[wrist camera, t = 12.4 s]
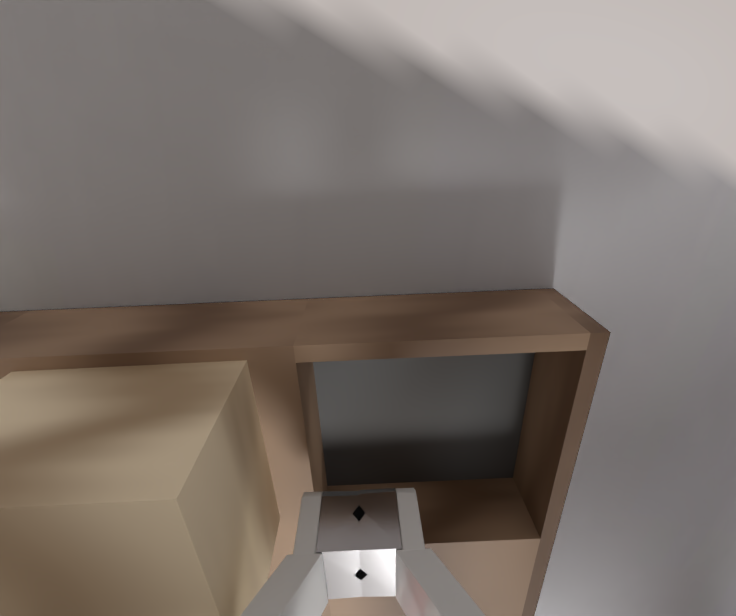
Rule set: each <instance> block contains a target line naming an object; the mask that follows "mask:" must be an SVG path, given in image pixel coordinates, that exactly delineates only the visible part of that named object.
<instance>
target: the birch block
mask: <svg viewBox="0 0 736 616" xmlns="http://www.w3.org/2000/svg"><path fill="white" fill-rule="evenodd" d="M279 522H280V514H279V509H278V505H277V500H276V495H275V491H274V486H273V481H272V476H271V472H270V467H269V462H268V458H267V453H266V448H265V444H264V439H263V434H262V429H261V425H260V420H259V415H258V411H257V406H256V401H255V396H254V392H253V387H252V382H251V378H250V373H249V368H248V363H247V360H241V361H221V362H200V363H180V364H159V365H139V366H118V367H98V368H77V369H57V370H36V371H16V372H10V373H9V374H7V375H6V376H4V377H3V378H1V379H0V616H240V615H241V614H242V613H243V611H244V610H245V609H246V608H247V606H248V605H249V604H250V602H251V601H252V600H253V598H254V597H255V596H256V595H257V593H258V592H259V591H260V589H261V588H262V587H263V585H264V584H265V583H266V581H267V579H268V575H269V570H270V565H271V560H272V555H273V551H274V546H275V541H276V536H277V531H278V527H279Z"/></svg>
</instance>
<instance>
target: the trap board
mask: <svg viewBox="0 0 736 616" xmlns="http://www.w3.org/2000/svg"><path fill="white" fill-rule="evenodd" d="M609 336H610V332H609V331H608V330H607V329H606V328H604V327H603V326H602V325H600V324H599V323H598V322H596V321H595V320H594V319H593V318H591V317H590V316H589V315H587V314H586V313H585V312H583V311H582V310H581V309H580V308H578V307H577V306H576V305H574V304H573V303H572V302H570V301H569V300H568V299H567V298H565V297H564V296H563V295H561V294H560V293H559V292H558V291H556V290H555V289H554V288H553V289H529V290H505V291H482V292H458V293H435V294H411V295H387V296H364V297H340V298H317V299H293V300H269V301H246V302H222V303H198V304H175V305H151V306H128V307H104V308H80V309H57V310H33V311H10V312H0V379H1V378H3V377H4V376H6V375H7V374H9V373H10V372H16V371H36V370H57V369H77V368H98V367H118V366H139V365H159V364H180V363H200V362H221V361H241V360H247V363H248V368H249V373H250V378H251V382H252V387H253V392H254V396H255V401H256V406H257V411H258V415H259V420H260V425H261V429H262V434H263V439H264V444H265V448H266V453H267V458H268V462H269V467H270V472H271V476H272V481H273V486H274V491H275V495H276V500H277V505H278V509H279V514H280V522H279V527H278V531H277V536H276V541H275V546H274V551H273V555H272V560H271V565H270V570H269V575H268V579H269V578H270V576H271V575H272V574H273V572H274V571H275V570H276V568H277V567H278V566H279V565H280V563H281V562H282V561H283V559H284V558H285V557H286V555H291V554H293V550H294V543H295V537H296V531H297V524H298V518H299V512H300V505H301V499H302V496H303V493H304V492H321V491H359V490H369V489H386V488H395V489H396V488H414V489H415V491H416V496H417V502H418V508H419V514H420V520H421V526H422V532H423V538H424V544H425V549H432V550H433V552H434V553H435V554H436V555H437V557H438V558H439V559H440V560H441V561H442V563H443V564H444V565H445V566H446V568H447V569H448V570H449V571H450V573H451V574H452V575H453V576H454V578H455V579H456V580H457V581H458V582H459V584H460V585H461V586H462V587H463V589H464V590H465V591H466V592H467V594H468V595H469V596H470V597H471V598H472V600H473V601H474V602H475V603H476V605H477V606H478V607H479V608H480V610H481V611H482V612H483V613H484V615H485V616H534V614H535V611H536V607H537V603H538V599H539V596H540V592H541V588H542V585H543V581H544V577H545V573H546V570H547V566H548V562H549V559H550V555H551V551H552V547H553V544H554V540H555V536H556V533H557V529H558V525H559V522H560V518H561V514H562V510H563V507H564V503H565V499H566V496H567V492H568V488H569V484H570V481H571V477H572V473H573V470H574V466H575V462H576V458H577V455H578V451H579V447H580V444H581V440H582V436H583V432H584V429H585V425H586V421H587V418H588V414H589V410H590V406H591V403H592V399H593V395H594V392H595V388H596V384H597V380H598V377H599V373H600V369H601V366H602V362H603V358H604V354H605V351H606V347H607V343H608V340H609ZM268 579H267V580H268ZM321 616H406V615H405V613H404V611H403V610H402V608H401V606H400V604H399V603H398V601H397V599H396V596H385V597H353V598H340V599H328V604H327V605H326V607H325V609H324V611H323V613H322V615H321Z"/></svg>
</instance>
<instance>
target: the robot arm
mask: <svg viewBox="0 0 736 616" xmlns="http://www.w3.org/2000/svg"><path fill="white" fill-rule="evenodd" d="M385 596H396V599H397V601H398V603H399V604H400V606H401V608H402V610H403V611H404V613H405V615H406V616H485V615H484V613H483V612H482V611H481V610H480V608H479V607H478V606H477V605H476V603H475V602H474V601H473V600H472V598H471V597H470V596H469V595H468V594H467V592H466V591H465V590H464V589H463V587H462V586H461V585H460V584H459V582H458V581H457V580H456V579H455V578H454V576H453V575H452V574H451V573H450V571H449V570H448V569H447V568H446V566H445V565H444V564H443V563H442V561H441V560H440V559H439V558H438V557H437V555H436V554H435V553H434V552H433V550H432V549H425V544H424V538H423V532H422V526H421V520H420V514H419V508H418V502H417V496H416V491H415V489H414V488H396V489H395V488H386V489H369V490H359V491H321V492H304V493H303V496H302V499H301V505H300V512H299V518H298V524H297V531H296V537H295V543H294V550H293V554H291V555H286V557H285V558H284V559H283V561H282V562H281V563H280V565H279V566H278V567H277V568H276V570H275V571H274V572H273V574H272V575H271V576H270V578H269V579H268V580H267V581H266V583H265V584H264V585H263V587H262V588H261V589H260V591H259V592H258V593H257V595H256V596H255V597H254V598H253V600H252V601H251V602H250V604H249V605H248V606H247V608H246V609H245V610H244V611H243V613H242V614H241V615H240V616H321V615H322V613H323V611H324V609H325V607H326V605H327V604H328V599H340V598H353V597H385Z"/></svg>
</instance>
